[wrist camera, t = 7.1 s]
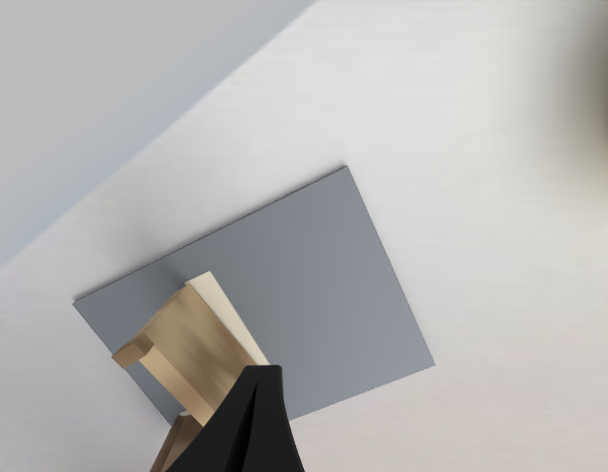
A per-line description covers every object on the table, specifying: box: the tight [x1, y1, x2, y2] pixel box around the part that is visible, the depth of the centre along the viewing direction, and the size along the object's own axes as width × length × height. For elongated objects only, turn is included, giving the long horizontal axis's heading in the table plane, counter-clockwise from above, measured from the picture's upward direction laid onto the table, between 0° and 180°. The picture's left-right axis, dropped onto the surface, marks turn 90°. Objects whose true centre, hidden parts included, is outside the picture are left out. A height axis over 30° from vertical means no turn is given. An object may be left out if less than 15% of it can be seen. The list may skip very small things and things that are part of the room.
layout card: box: [72, 166, 435, 426], centre depth 21 cm, size 21×16×1 cm
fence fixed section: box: [150, 388, 284, 472], centre depth 20 cm, size 10×2×6 cm, turn 116°
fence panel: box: [112, 284, 256, 427], centre depth 17 cm, size 9×1×6 cm, turn 33°
